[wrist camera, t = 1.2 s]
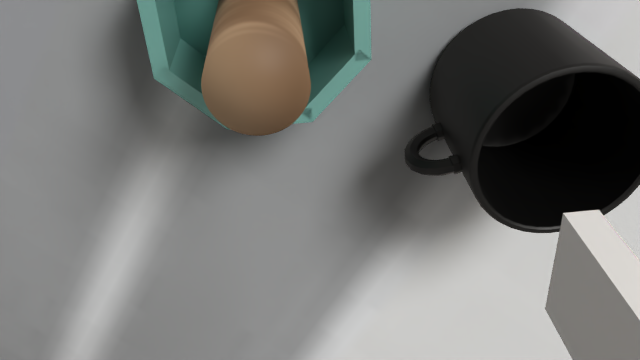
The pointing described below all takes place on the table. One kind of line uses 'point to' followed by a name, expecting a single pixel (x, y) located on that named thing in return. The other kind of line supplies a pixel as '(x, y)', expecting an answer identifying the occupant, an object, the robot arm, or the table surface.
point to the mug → (533, 120)
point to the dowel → (256, 66)
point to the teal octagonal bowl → (318, 32)
